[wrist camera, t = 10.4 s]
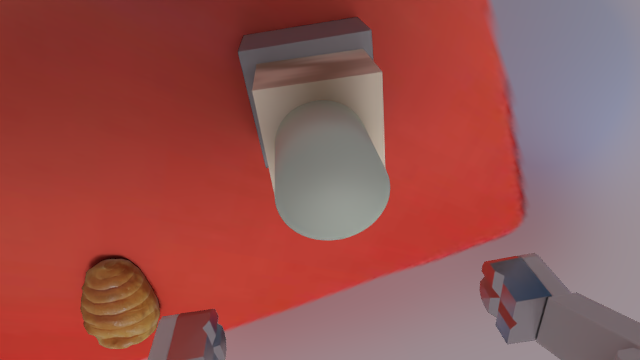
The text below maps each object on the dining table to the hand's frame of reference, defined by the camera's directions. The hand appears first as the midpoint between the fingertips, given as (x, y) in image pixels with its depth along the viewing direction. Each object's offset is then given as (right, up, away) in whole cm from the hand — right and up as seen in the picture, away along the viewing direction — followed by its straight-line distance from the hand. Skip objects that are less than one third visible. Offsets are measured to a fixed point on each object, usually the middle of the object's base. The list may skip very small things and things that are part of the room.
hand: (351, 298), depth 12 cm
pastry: (-21, -8, +27) cm, 35 cm away
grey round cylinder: (-1, +6, +9) cm, 11 cm away
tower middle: (-1, +8, +13) cm, 16 cm away
